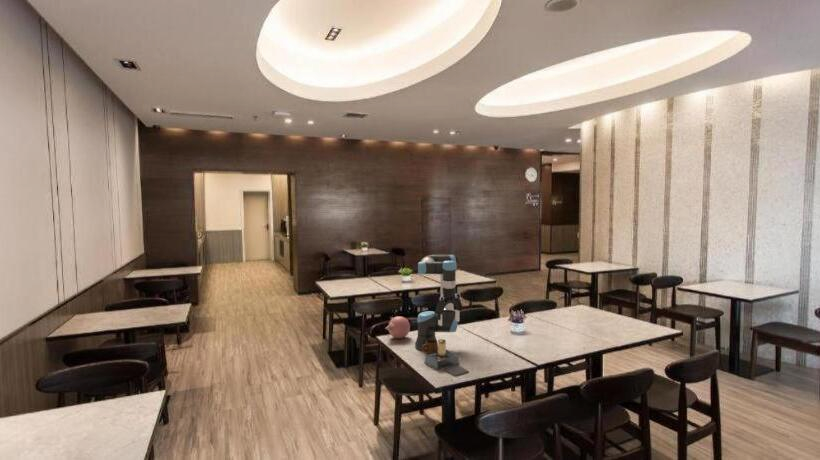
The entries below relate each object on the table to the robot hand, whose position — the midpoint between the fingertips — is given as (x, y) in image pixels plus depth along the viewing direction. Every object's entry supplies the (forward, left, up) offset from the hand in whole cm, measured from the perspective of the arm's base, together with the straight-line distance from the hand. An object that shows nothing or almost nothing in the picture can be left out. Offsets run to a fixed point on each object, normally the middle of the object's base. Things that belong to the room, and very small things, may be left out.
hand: (448, 323), depth 235 cm
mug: (-15, -3, -25) cm, 29 cm away
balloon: (-57, -2, -25) cm, 62 cm away
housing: (-2, -3, -25) cm, 25 cm away
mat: (+11, -3, -25) cm, 27 cm away
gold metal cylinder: (-2, -3, -25) cm, 25 cm away
